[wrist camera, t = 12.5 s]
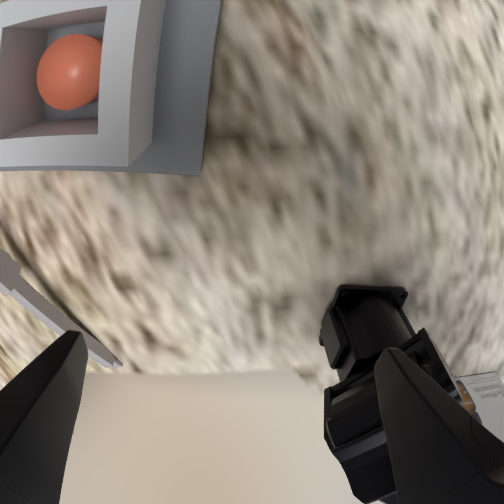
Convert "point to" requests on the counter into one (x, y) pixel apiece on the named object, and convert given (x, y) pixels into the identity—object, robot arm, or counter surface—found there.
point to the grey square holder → (110, 86)
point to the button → (70, 71)
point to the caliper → (47, 309)
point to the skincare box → (484, 400)
